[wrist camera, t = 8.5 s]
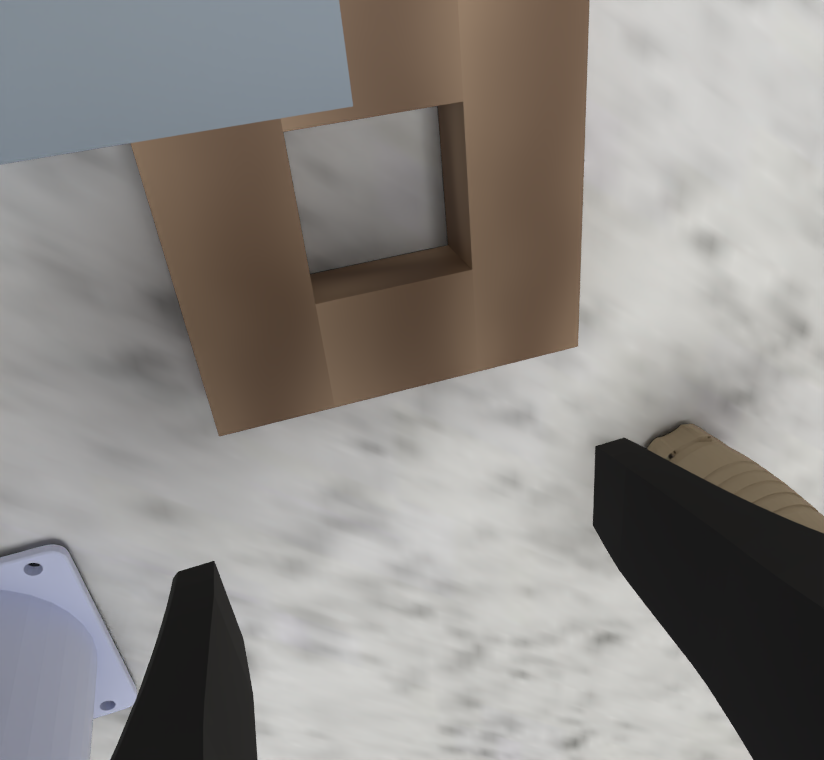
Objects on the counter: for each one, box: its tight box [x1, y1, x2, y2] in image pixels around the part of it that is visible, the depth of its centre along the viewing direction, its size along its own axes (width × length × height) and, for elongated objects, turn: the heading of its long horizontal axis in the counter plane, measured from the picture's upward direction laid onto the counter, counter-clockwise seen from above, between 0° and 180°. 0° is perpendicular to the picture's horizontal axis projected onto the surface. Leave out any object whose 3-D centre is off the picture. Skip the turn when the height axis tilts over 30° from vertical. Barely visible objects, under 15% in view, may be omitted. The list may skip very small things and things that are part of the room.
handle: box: [647, 424, 824, 533], centre depth 23 cm, size 5×6×15 cm
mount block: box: [131, 0, 589, 436], centre depth 19 cm, size 11×11×2 cm
